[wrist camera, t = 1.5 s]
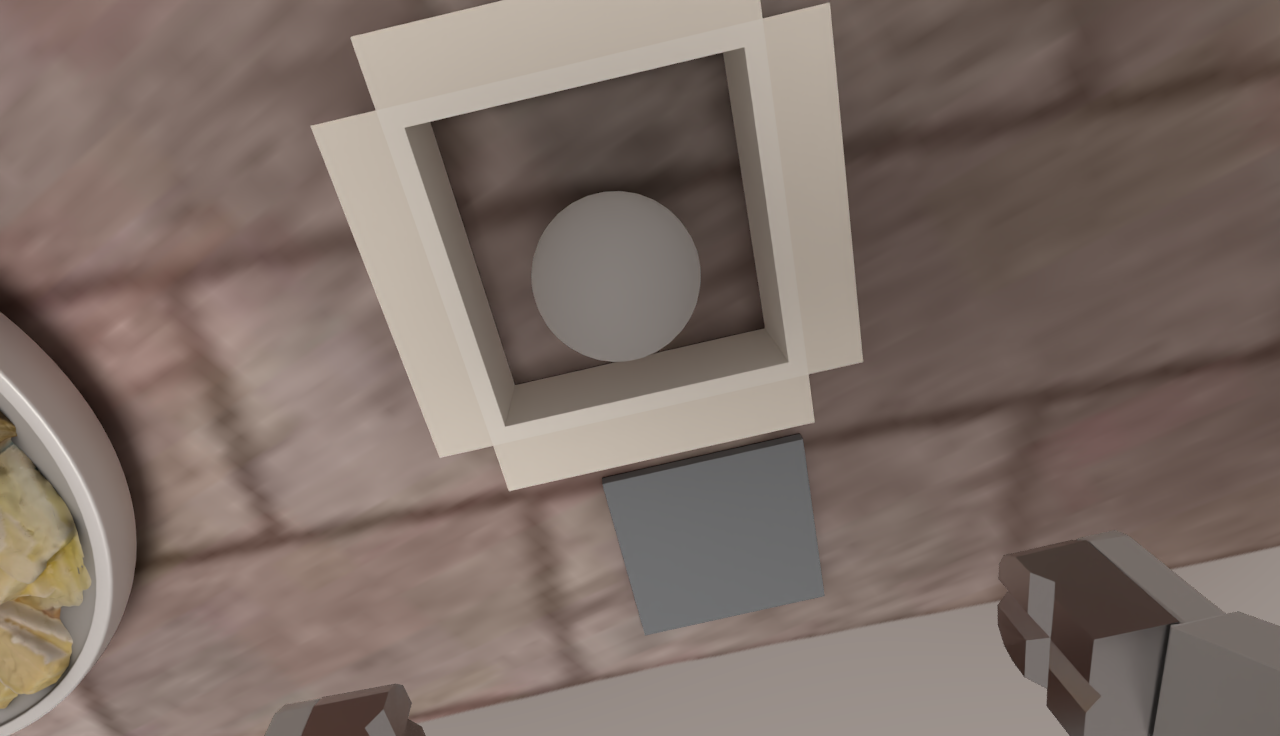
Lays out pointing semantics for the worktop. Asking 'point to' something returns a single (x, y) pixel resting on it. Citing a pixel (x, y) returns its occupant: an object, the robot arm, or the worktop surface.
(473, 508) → the worktop surface
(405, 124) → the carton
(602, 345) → the lightbulb
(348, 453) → the worktop surface
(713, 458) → the mat
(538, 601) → the worktop surface
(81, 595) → the bowl
